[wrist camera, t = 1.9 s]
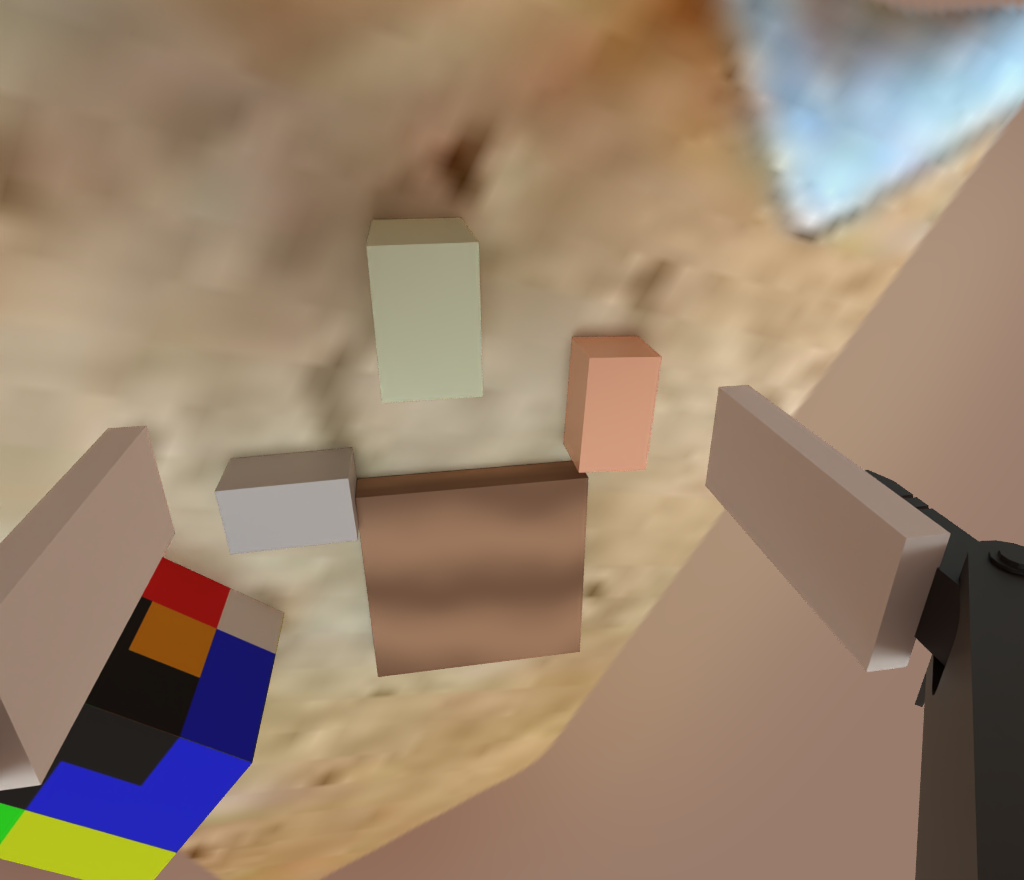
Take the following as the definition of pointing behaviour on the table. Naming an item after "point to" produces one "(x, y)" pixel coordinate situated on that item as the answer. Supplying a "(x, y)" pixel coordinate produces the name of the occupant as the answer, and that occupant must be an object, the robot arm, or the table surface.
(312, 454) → the grey brick
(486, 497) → the walnut slab
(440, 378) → the sage brick
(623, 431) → the terracotta brick
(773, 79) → the table surface
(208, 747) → the puzzle toy
